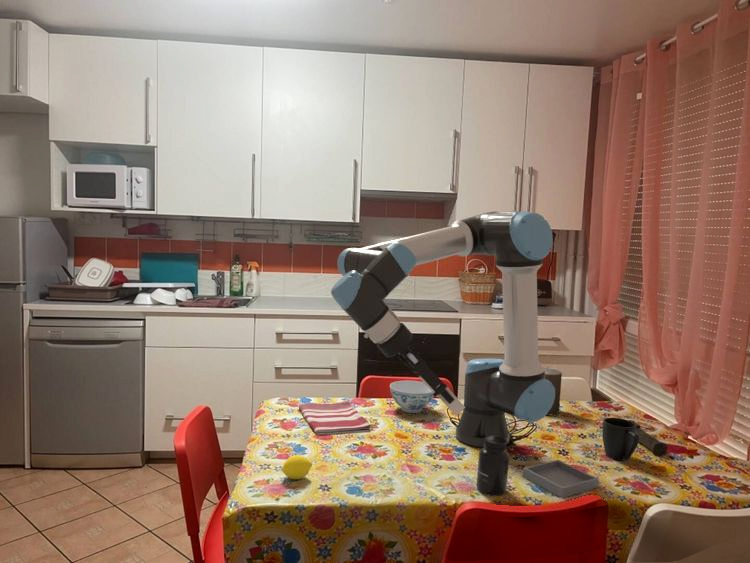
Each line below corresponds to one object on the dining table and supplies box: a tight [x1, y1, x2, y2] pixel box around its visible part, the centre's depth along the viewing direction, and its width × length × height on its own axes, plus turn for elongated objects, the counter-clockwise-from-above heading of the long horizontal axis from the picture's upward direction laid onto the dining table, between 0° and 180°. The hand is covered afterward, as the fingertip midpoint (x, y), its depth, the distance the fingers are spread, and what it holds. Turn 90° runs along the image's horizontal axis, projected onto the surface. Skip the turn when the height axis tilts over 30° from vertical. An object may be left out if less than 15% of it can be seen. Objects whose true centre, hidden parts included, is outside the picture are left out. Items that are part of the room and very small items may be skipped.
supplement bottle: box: [476, 436, 510, 496], centre depth 131 cm, size 7×7×12 cm
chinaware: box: [389, 380, 435, 414], centre depth 187 cm, size 15×15×8 cm
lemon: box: [281, 454, 313, 480], centre depth 132 cm, size 7×5×5 cm
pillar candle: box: [544, 367, 563, 416], centre depth 193 cm, size 10×10×15 cm
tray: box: [521, 459, 599, 498], centre depth 137 cm, size 12×12×2 cm
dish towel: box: [298, 400, 371, 436], centre depth 174 cm, size 17×23×3 cm
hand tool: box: [629, 419, 668, 457], centre depth 166 cm, size 19×4×5 cm, turn 1°
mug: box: [601, 417, 640, 461], centre depth 153 cm, size 8×12×10 cm
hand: (450, 401), depth 127 cm, fingers open, 13 cm apart
